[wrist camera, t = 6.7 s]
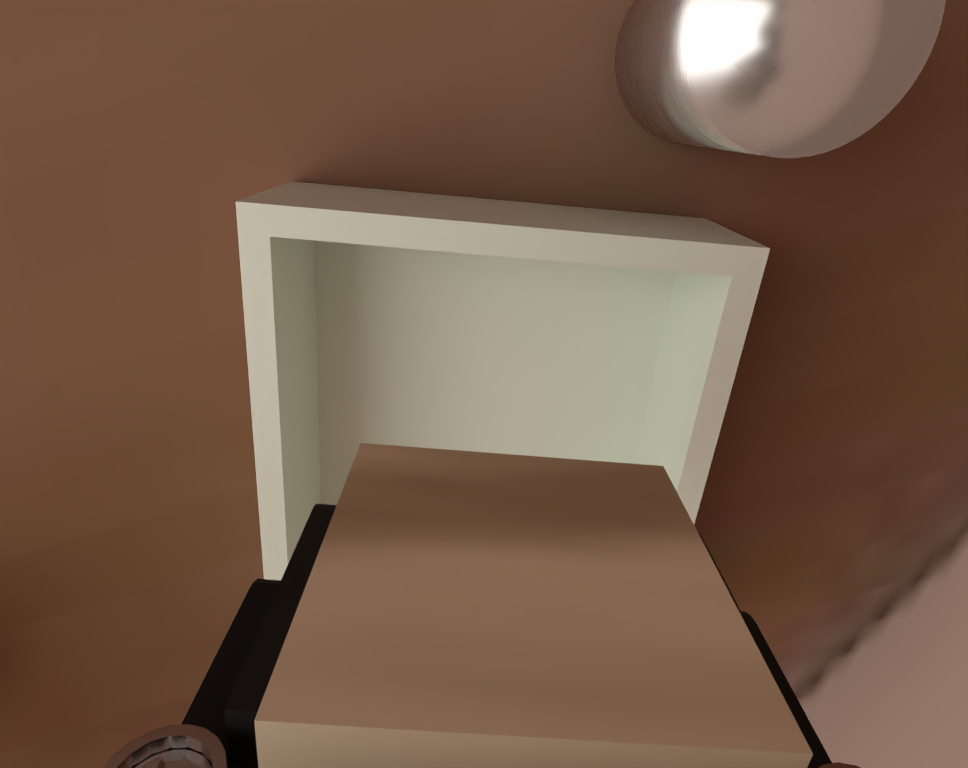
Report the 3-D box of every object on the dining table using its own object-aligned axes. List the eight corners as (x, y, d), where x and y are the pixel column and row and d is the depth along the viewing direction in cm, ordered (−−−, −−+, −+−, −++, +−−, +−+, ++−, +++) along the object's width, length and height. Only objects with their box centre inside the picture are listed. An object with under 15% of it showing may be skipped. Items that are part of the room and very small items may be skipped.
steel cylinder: (631, -54, 17) (719, -153, 11) (804, -36, 17) (990, -123, 11) (602, 136, 19) (662, 147, 13) (757, 150, 19) (892, 168, 13)
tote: (292, 181, 20) (235, 201, 15) (705, 218, 20) (769, 248, 16) (308, 599, 27) (273, 698, 22) (614, 618, 27) (640, 719, 23)
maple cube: (360, 443, 10) (255, 719, 5) (663, 466, 10) (812, 753, 6) (358, 667, 12) (280, 1011, 7) (612, 683, 12) (691, 1029, 7)
